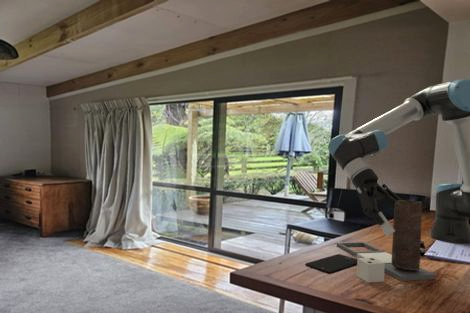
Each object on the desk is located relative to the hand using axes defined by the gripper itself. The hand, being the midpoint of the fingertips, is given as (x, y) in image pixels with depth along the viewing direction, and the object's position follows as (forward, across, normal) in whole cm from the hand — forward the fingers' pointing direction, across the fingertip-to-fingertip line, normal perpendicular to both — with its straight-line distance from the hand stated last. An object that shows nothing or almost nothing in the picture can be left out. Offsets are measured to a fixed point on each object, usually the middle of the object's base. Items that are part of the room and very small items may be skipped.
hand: (404, 231), depth 101 cm
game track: (+1, -5, -16) cm, 17 cm away
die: (+7, +12, -10) cm, 18 cm away
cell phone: (-2, +11, -20) cm, 23 cm away
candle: (+8, 0, -7) cm, 11 cm away
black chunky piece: (+3, -25, -15) cm, 30 cm away
